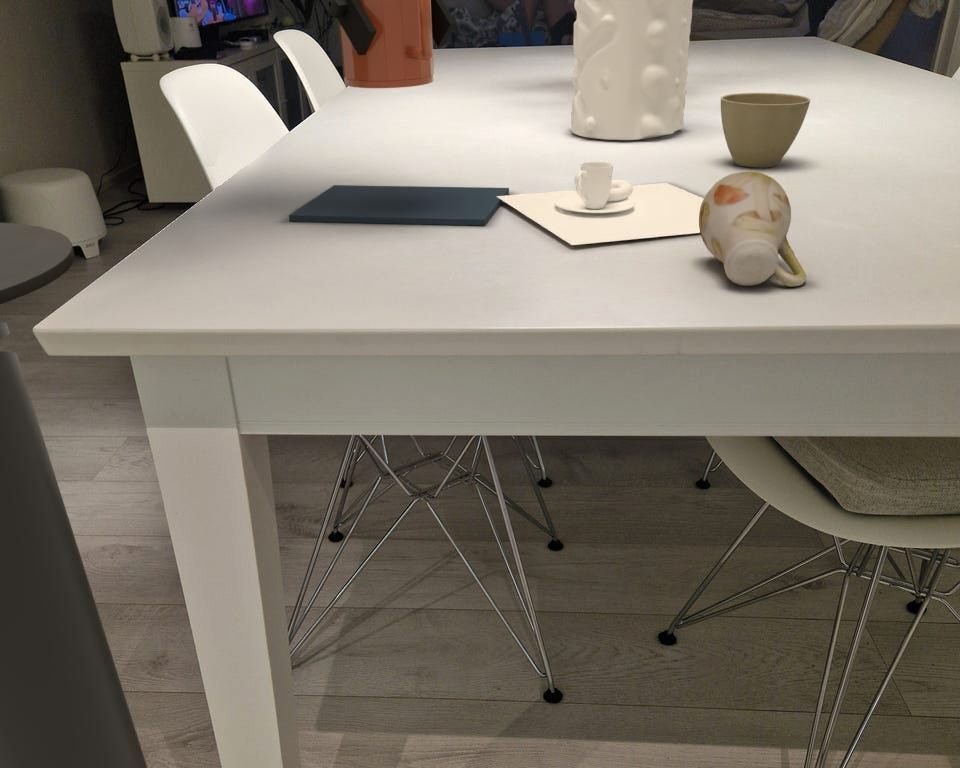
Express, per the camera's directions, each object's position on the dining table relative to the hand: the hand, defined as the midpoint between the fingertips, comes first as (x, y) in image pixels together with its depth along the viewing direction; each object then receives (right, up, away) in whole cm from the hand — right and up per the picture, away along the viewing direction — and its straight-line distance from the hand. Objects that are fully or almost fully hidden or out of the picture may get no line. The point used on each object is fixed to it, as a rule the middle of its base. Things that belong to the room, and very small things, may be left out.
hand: (408, 39), depth 83 cm
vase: (+27, +13, +48) cm, 57 cm away
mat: (-2, -10, +13) cm, 17 cm away
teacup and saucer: (+21, -13, +8) cm, 26 cm away
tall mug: (-1, -3, +3) cm, 4 cm away
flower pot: (+40, 0, +27) cm, 48 cm away
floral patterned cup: (+28, -24, -9) cm, 38 cm away
